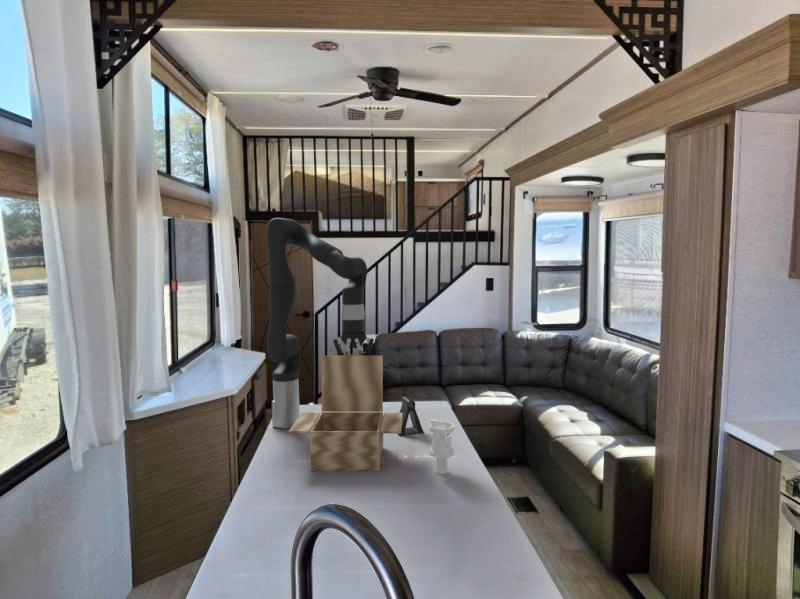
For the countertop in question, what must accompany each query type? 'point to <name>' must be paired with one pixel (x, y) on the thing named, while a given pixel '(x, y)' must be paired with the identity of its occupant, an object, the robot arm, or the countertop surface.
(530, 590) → the countertop surface
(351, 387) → the lid flap
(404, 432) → the phone stand
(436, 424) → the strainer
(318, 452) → the carton
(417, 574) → the countertop surface
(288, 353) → the robot arm
